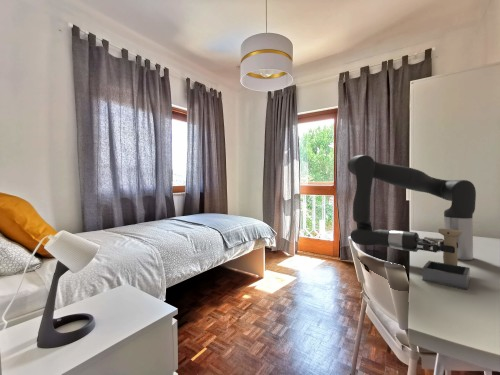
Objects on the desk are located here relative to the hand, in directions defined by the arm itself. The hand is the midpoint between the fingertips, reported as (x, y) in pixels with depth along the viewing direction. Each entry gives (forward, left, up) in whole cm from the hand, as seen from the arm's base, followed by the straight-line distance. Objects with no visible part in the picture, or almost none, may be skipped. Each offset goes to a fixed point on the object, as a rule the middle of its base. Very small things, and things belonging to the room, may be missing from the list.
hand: (456, 247), depth 83 cm
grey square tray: (+10, -2, -9) cm, 14 cm away
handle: (0, -2, -9) cm, 9 cm away
